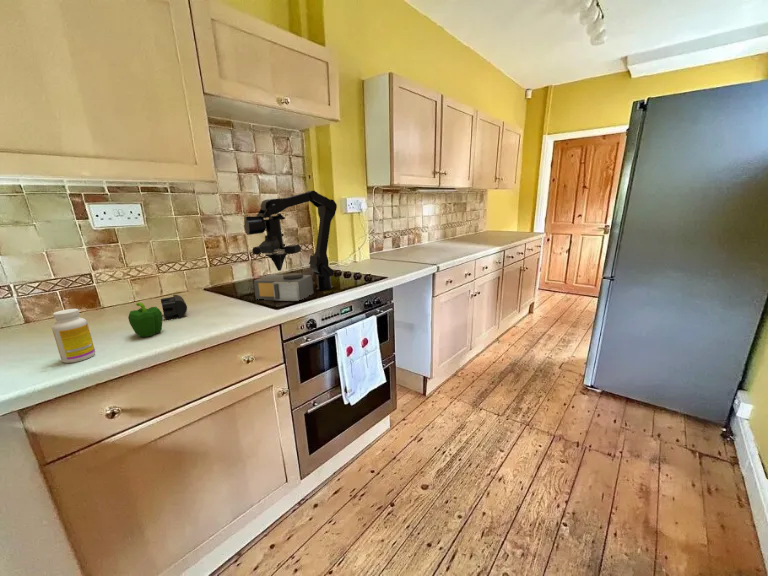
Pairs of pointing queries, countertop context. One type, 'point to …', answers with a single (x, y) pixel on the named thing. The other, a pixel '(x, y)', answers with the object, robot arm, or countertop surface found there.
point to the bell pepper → (146, 320)
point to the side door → (286, 291)
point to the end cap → (173, 307)
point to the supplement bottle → (72, 336)
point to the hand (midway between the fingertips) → (279, 270)
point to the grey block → (266, 283)
